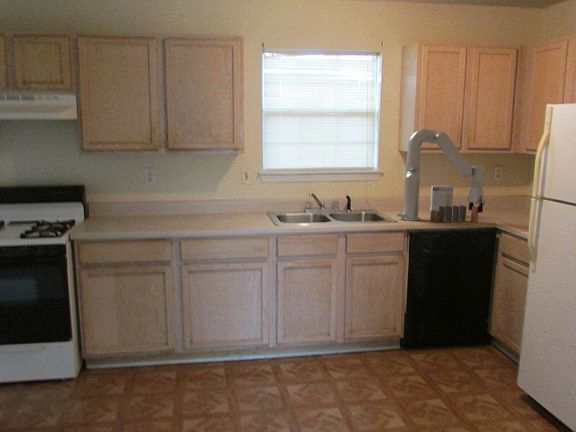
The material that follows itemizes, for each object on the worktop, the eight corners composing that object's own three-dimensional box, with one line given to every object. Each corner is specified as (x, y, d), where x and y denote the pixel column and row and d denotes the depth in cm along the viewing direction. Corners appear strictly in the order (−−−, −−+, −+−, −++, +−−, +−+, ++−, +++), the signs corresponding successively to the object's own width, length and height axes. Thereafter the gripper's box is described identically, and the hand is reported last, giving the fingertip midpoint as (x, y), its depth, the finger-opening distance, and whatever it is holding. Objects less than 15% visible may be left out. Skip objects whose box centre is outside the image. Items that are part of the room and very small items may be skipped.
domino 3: (456, 221, 333) (457, 206, 331) (452, 220, 338) (453, 205, 336) (458, 221, 334) (459, 206, 332) (454, 220, 338) (455, 205, 337)
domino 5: (475, 223, 330) (476, 207, 328) (470, 221, 335) (471, 206, 333) (477, 223, 330) (478, 207, 328) (473, 221, 335) (474, 206, 333)
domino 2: (449, 222, 332) (450, 206, 330) (445, 220, 337) (446, 205, 335) (451, 222, 332) (452, 206, 331) (447, 220, 337) (448, 205, 335)
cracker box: (450, 215, 360) (451, 185, 356) (451, 216, 354) (453, 186, 350) (429, 214, 361) (431, 185, 357) (431, 216, 355) (432, 185, 351)
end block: (435, 222, 329) (436, 212, 327) (430, 221, 335) (430, 210, 334) (439, 222, 329) (439, 212, 328) (433, 220, 336) (434, 210, 335)
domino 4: (463, 221, 334) (464, 206, 333) (458, 220, 339) (459, 205, 337) (465, 221, 335) (466, 206, 333) (461, 220, 339) (462, 205, 338)
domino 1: (442, 222, 331) (443, 207, 329) (438, 221, 336) (439, 206, 334) (444, 222, 331) (445, 207, 330) (440, 221, 336) (441, 205, 334)
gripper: (464, 183, 336) (462, 209, 338) (479, 186, 319) (478, 213, 322) (474, 183, 337) (472, 209, 340) (490, 186, 321) (488, 213, 324)
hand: (475, 211), depth 331 cm, fingers open, 9 cm apart
